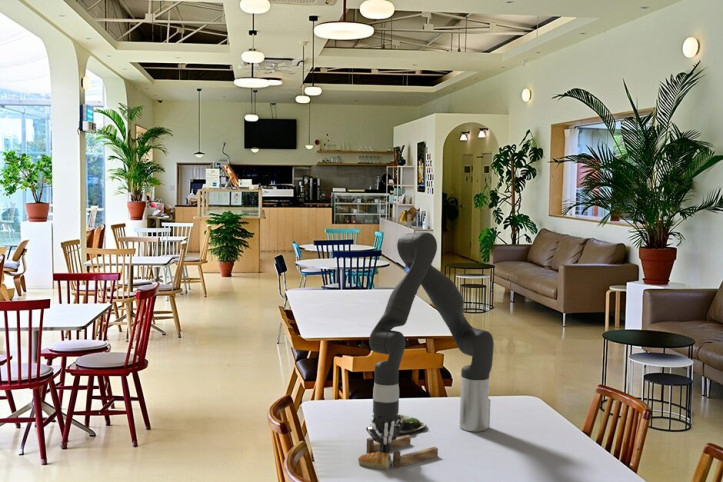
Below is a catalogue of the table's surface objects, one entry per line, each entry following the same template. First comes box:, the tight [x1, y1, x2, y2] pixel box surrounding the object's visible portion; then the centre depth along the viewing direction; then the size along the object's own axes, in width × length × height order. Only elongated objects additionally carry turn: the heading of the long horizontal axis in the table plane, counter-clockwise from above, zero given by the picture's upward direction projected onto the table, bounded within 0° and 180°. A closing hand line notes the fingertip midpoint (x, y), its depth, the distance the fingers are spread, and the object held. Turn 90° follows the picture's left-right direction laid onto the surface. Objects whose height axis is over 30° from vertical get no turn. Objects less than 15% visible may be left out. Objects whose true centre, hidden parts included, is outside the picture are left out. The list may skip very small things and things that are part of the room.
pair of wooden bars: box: [365, 435, 439, 468], centre depth 225 cm, size 16×14×4 cm
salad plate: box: [369, 413, 427, 437], centre depth 251 cm, size 19×18×5 cm
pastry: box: [357, 452, 392, 470], centre depth 217 cm, size 9×7×4 cm
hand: (384, 455), depth 221 cm, fingers closed
